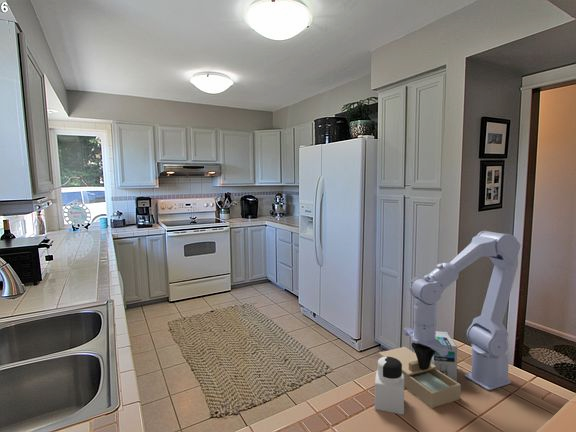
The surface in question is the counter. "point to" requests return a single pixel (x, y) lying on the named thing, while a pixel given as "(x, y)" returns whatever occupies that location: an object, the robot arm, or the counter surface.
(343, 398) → the counter surface
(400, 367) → the medicine bottle
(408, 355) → the mailer lid
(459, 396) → the base
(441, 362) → the light bulb box
